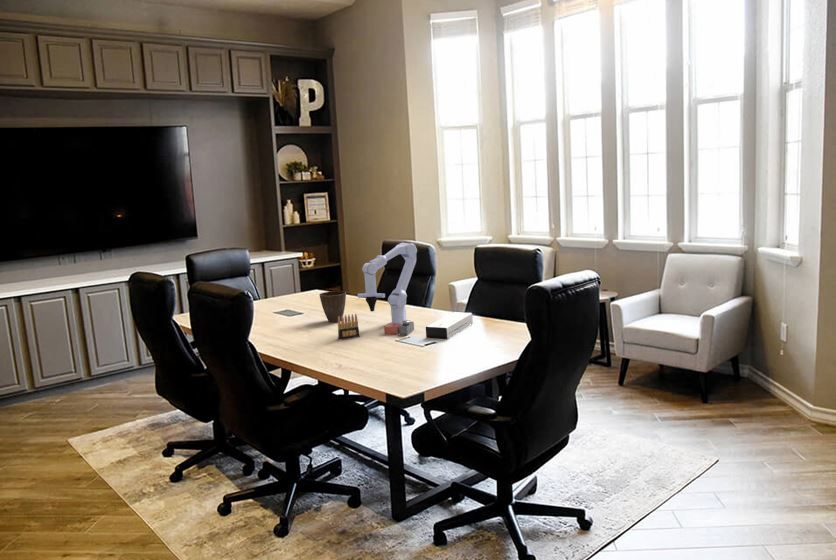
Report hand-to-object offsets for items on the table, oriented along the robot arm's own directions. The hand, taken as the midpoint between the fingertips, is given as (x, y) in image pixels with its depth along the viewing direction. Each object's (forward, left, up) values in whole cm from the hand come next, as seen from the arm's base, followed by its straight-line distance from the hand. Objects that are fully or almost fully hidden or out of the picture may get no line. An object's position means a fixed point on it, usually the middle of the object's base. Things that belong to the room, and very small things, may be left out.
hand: (372, 311), depth 360 cm
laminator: (+3, +42, -10) cm, 43 cm away
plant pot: (-16, -29, -10) cm, 34 cm away
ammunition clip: (+20, -6, -10) cm, 23 cm away
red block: (+8, +14, -9) cm, 19 cm away
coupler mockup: (+8, +17, -9) cm, 21 cm away
